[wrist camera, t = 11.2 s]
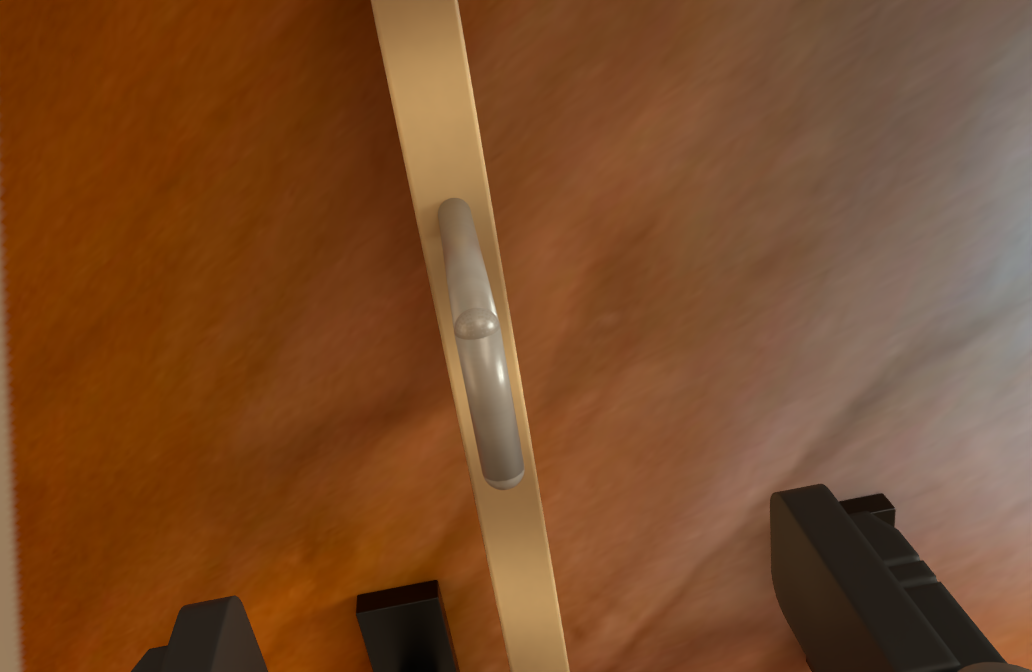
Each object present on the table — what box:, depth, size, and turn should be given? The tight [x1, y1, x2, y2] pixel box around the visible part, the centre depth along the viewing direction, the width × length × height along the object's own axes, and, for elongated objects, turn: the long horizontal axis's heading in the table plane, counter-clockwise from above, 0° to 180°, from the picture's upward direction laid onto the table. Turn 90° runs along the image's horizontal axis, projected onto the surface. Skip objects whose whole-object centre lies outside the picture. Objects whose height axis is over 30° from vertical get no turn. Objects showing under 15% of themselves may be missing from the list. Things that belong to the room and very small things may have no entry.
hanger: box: [370, 0, 570, 672], centre depth 18 cm, size 22×1×15 cm, turn 9°
